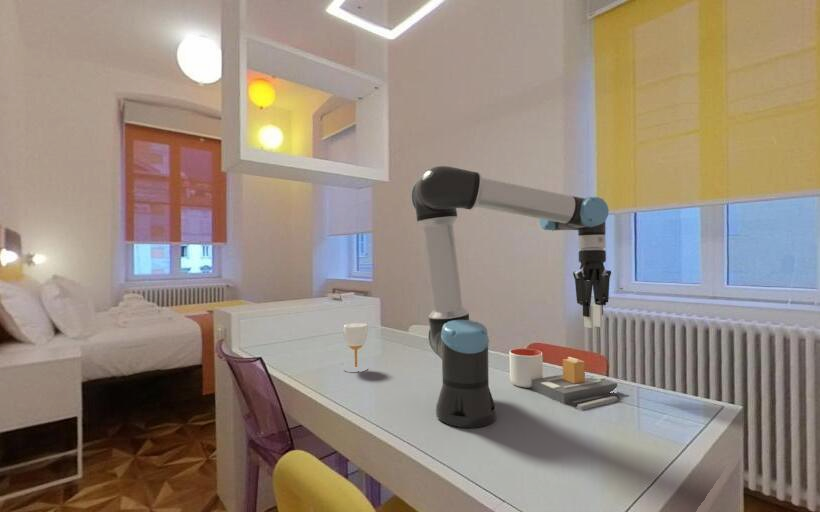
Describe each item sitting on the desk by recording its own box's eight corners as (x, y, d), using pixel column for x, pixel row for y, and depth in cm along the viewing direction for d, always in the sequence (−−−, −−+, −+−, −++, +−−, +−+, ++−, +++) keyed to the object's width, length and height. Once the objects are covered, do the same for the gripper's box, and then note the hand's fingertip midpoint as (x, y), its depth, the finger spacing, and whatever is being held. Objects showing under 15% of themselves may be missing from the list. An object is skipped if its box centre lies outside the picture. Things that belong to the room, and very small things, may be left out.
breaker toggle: (574, 383, 115) (573, 360, 115) (563, 379, 119) (562, 357, 119) (584, 381, 116) (584, 359, 116) (573, 377, 120) (572, 355, 120)
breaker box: (564, 404, 108) (563, 392, 108) (532, 389, 120) (531, 378, 120) (617, 393, 115) (617, 382, 115) (582, 380, 127) (582, 370, 127)
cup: (544, 389, 119) (544, 356, 119) (510, 388, 121) (510, 355, 121) (540, 379, 129) (540, 348, 129) (509, 378, 131) (508, 347, 131)
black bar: (574, 407, 105) (574, 402, 105) (570, 405, 107) (570, 401, 107) (618, 398, 112) (618, 393, 112) (613, 396, 113) (613, 392, 113)
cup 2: (371, 370, 142) (370, 326, 142) (346, 374, 138) (345, 328, 138) (364, 364, 150) (364, 322, 150) (341, 367, 147) (340, 324, 147)
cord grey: (581, 410, 104) (580, 406, 104) (577, 408, 105) (577, 404, 105) (617, 400, 110) (617, 397, 110) (613, 399, 111) (613, 395, 111)
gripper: (581, 249, 114) (582, 331, 114) (621, 249, 120) (622, 326, 120) (562, 250, 121) (563, 327, 121) (601, 249, 127) (602, 322, 127)
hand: (593, 326), depth 120 cm, fingers open, 3 cm apart
